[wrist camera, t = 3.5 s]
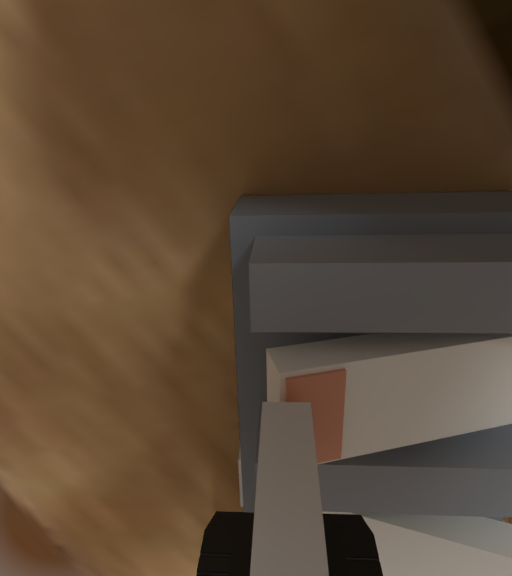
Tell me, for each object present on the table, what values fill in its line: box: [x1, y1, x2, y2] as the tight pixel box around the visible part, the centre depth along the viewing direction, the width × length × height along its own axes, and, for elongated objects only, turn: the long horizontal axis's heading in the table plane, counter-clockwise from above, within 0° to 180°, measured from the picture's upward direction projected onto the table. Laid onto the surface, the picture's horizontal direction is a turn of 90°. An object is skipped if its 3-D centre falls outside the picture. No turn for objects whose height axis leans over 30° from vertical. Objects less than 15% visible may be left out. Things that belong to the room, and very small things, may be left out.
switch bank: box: [229, 191, 512, 521], centre depth 21 cm, size 28×13×8 cm, turn 1°
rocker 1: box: [266, 333, 512, 464], centre depth 15 cm, size 4×10×2 cm, turn 91°
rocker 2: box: [322, 511, 512, 576], centre depth 18 cm, size 4×10×2 cm, turn 91°
